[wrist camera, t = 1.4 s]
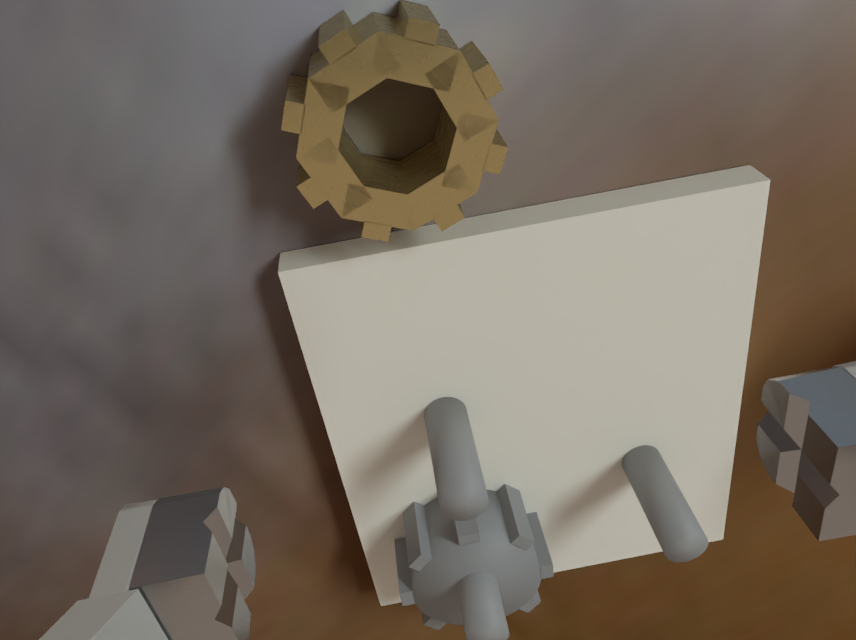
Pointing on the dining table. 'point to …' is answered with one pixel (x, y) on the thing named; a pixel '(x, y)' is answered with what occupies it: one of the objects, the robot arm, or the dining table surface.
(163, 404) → the dining table surface
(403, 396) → the gear board
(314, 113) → the gear
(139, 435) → the dining table surface
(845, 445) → the robot arm
